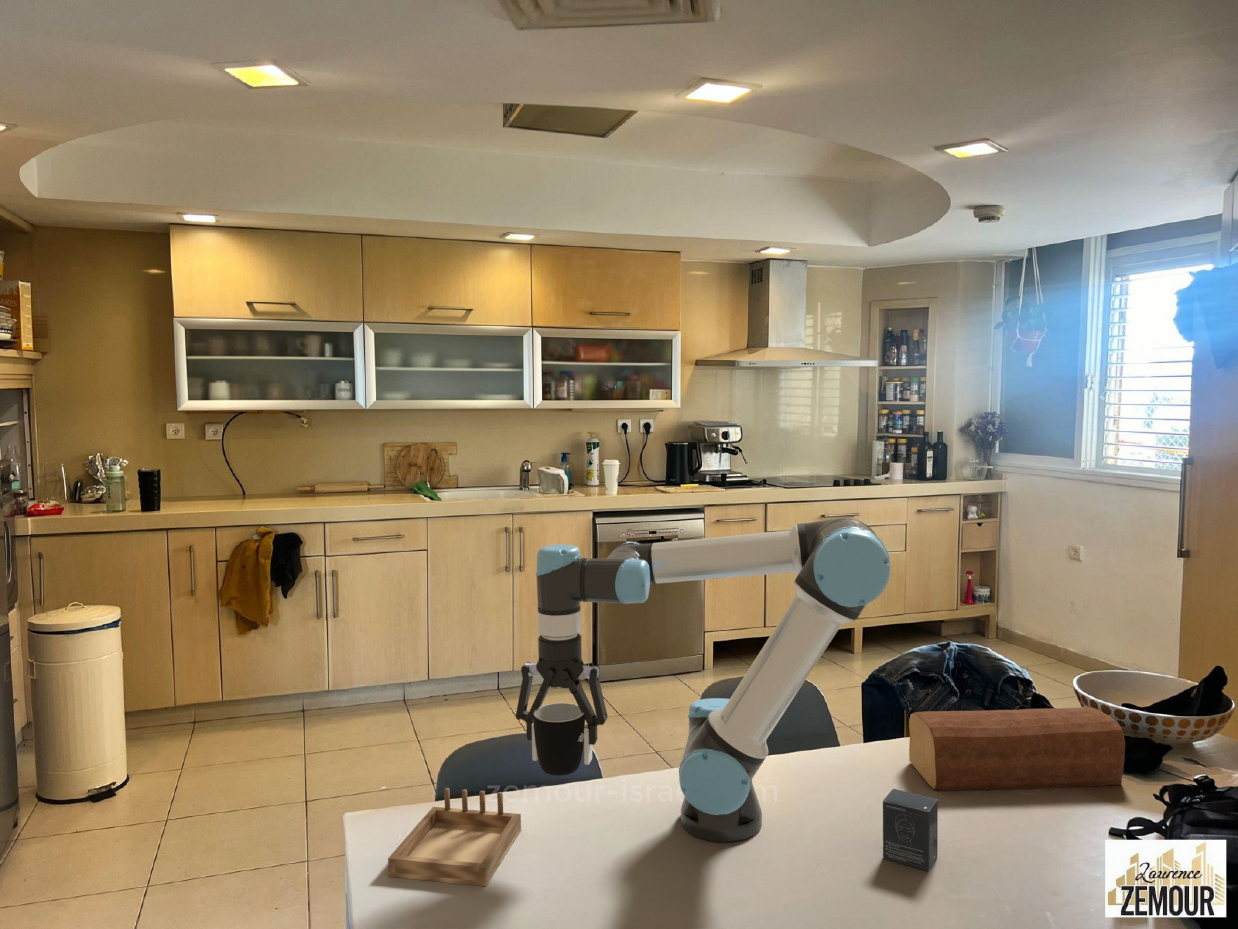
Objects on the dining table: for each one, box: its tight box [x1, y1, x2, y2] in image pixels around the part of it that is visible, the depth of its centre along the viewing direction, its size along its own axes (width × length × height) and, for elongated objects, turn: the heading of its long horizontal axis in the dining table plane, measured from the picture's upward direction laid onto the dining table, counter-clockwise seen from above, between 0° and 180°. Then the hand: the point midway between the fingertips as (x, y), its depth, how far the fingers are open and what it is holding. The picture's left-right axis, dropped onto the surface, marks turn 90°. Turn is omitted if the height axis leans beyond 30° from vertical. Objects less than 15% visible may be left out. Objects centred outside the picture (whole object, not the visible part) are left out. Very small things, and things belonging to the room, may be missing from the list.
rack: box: [387, 787, 522, 887], centre depth 153 cm, size 17×18×7 cm
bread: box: [908, 706, 1126, 791], centre depth 179 cm, size 16×39×13 cm, turn 91°
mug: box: [533, 702, 586, 777], centre depth 152 cm, size 12×9×10 cm
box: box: [882, 788, 939, 872], centre depth 148 cm, size 8×6×11 cm
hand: (562, 759), depth 152 cm, fingers closed on mug, 9 cm apart
